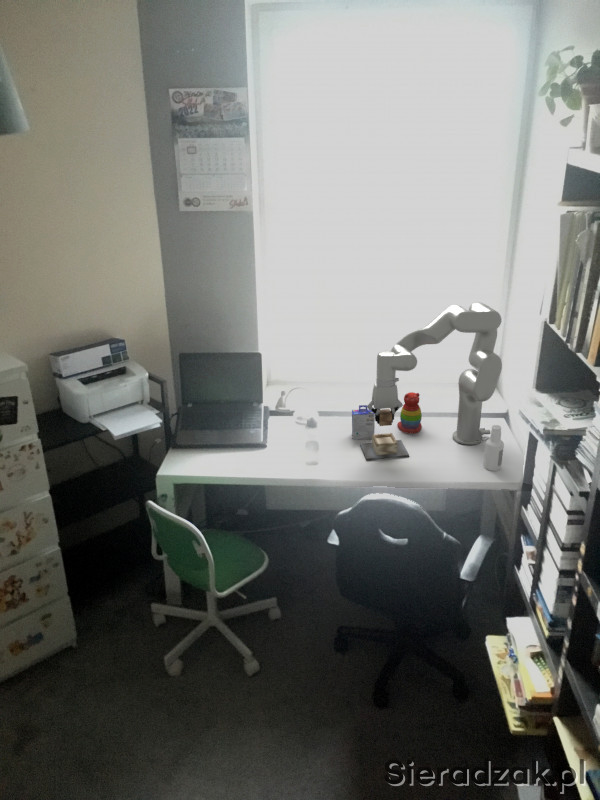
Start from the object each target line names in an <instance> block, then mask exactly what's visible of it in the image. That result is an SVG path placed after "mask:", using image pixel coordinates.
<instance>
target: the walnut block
mask: <svg viewBox="0 0 600 800" xmlns="http://www.w3.org/2000/svg"><path fill="white" fill-rule="evenodd" d="M379 416H380V418H379V424H378V426H379V427H385V426H392V425H393V423H392V413H391V409H390V408H384V409H380V411H379Z"/></svg>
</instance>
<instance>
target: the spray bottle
mask: <svg viewBox="0 0 600 800" xmlns="http://www.w3.org/2000/svg"><path fill="white" fill-rule="evenodd" d="M501 438H502V427H501V426H500V425H497V424H493V425H492V426H491V430H490V436H489V438H488V439H487V440H486V441H485V446H484V447H485V449H484V457H483V467H484V469H487V470H488V471H492V472H493V471H496V470H497V471H499V470H501V469H502V466H503V465H502V463H503V455H504V447H505V446H504V445H505V443H504V441H503V440H502V439H501Z"/></svg>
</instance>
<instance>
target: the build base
mask: <svg viewBox="0 0 600 800" xmlns="http://www.w3.org/2000/svg"><path fill="white" fill-rule="evenodd" d="M359 447H360V448H361V451H362V453H363V456H364V459H365V461H366V462H367V461H368V462H369V461H379V460H388V459H389V460H390V459H400V458H401V459H403V458H410V454H409V452H408V450H407V448H406V446H405V444H404V443H403V441H402V439H396V438H395V436H394V434H393V433H392V432H390V433H378V434H377V433H376V434H375V433H374V435H372V439H371V442H363V443H360V444H359Z"/></svg>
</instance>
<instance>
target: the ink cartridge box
mask: <svg viewBox="0 0 600 800" xmlns="http://www.w3.org/2000/svg"><path fill="white" fill-rule="evenodd" d="M367 406H368V404H365V405H358V409H352V410H351V430H352V432H351V437H352V440H365V439H366V440H368V439H371V440H372V435H375V428H376V427H375V422H376V421H375V413H373V412H372V411H371V410H370V409H368V408H367Z"/></svg>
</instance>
